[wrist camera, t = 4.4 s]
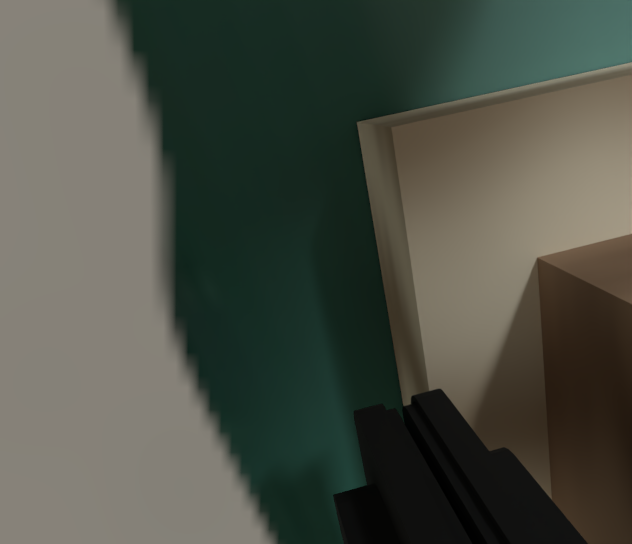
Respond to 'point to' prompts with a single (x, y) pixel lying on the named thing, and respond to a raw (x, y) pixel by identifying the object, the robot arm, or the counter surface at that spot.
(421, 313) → the trap deck
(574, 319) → the walnut block
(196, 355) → the counter surface
